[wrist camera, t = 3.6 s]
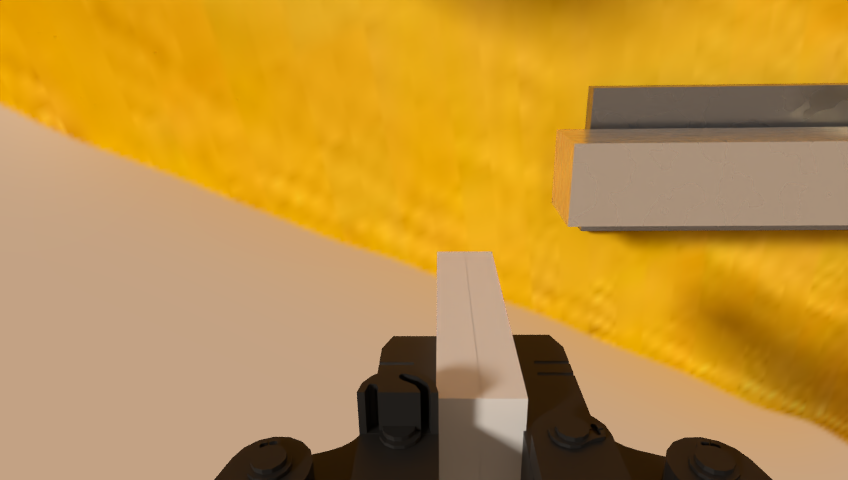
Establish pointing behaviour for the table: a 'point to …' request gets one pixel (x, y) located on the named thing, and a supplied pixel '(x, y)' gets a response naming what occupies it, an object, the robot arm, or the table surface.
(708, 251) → the table surface
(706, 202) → the pale grey bar
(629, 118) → the rail
